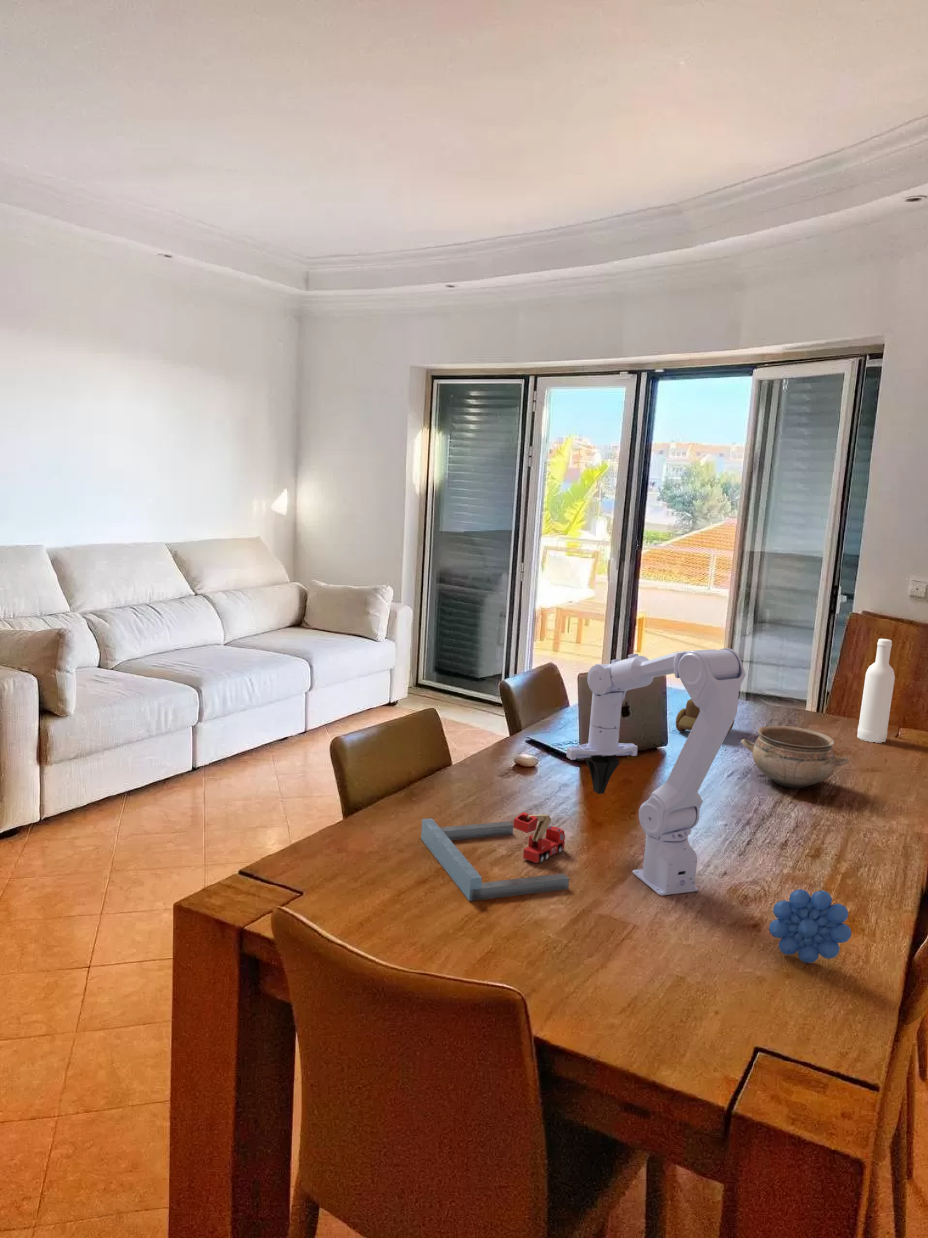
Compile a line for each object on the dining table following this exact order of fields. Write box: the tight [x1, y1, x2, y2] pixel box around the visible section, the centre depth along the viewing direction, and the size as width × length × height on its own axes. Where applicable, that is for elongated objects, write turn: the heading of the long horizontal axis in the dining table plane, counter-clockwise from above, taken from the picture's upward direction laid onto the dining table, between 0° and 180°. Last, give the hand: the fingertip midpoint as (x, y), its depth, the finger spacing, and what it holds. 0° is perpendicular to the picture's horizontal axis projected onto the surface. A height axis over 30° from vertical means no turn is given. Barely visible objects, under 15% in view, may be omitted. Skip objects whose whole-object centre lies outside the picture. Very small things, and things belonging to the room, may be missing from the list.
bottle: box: [856, 638, 896, 744], centre depth 262 cm, size 8×8×30 cm
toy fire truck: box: [513, 811, 566, 864], centre depth 167 cm, size 3×14×10 cm, turn 141°
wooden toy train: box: [675, 698, 735, 733], centre depth 260 cm, size 20×11×17 cm, turn 140°
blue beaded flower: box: [768, 888, 852, 964], centre depth 136 cm, size 12×7×12 cm, turn 56°
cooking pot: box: [740, 725, 850, 789], centre depth 218 cm, size 25×19×12 cm
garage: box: [420, 817, 570, 902], centre depth 164 cm, size 26×18×4 cm
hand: (598, 792), depth 175 cm, fingers closed
